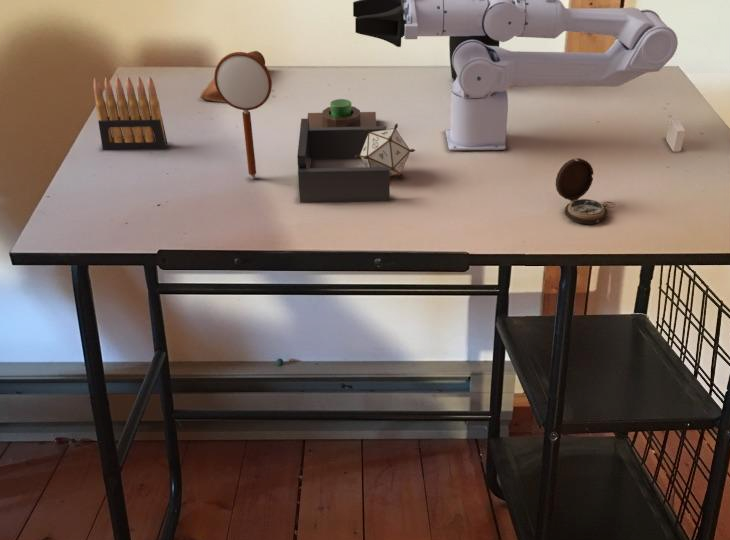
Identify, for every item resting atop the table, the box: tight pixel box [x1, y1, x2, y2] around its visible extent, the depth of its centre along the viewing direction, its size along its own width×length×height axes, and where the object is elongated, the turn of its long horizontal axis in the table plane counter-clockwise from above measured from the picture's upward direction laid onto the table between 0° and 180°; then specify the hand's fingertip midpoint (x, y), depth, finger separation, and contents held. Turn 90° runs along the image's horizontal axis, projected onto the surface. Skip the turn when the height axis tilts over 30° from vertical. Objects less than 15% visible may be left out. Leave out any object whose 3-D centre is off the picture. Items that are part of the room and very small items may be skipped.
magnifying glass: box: [213, 51, 273, 180], centre depth 142 cm, size 9×2×20 cm, turn 83°
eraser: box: [665, 118, 686, 153], centre depth 156 cm, size 1×5×4 cm, turn 1°
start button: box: [329, 98, 352, 117], centre depth 160 cm, size 4×4×2 cm
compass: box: [555, 157, 616, 225], centre depth 137 cm, size 8×8×7 cm
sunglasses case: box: [199, 50, 266, 104], centre depth 179 cm, size 18×7×7 cm
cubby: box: [297, 118, 391, 203], centre depth 147 cm, size 14×16×7 cm
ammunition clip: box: [93, 76, 168, 151], centre depth 154 cm, size 11×2×12 cm, turn 91°
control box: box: [306, 105, 377, 128], centre depth 162 cm, size 12×9×4 cm
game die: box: [354, 123, 416, 179], centre depth 146 cm, size 9×8×10 cm
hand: (354, 17), depth 145 cm, fingers open, 7 cm apart
